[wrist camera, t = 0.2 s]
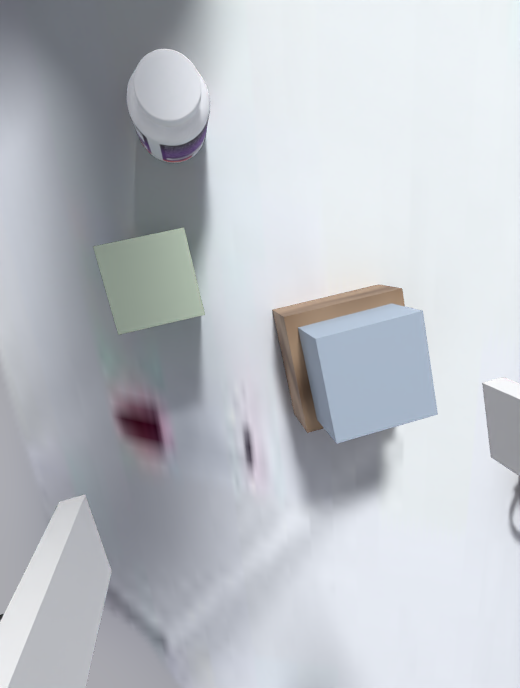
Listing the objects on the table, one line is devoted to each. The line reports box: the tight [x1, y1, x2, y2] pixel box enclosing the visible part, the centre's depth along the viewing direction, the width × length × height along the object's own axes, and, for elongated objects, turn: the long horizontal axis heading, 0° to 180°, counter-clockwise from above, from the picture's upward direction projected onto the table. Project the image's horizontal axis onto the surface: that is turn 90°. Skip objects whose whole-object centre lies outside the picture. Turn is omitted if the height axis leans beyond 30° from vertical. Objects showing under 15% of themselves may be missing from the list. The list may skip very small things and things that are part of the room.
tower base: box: [273, 285, 405, 433], centre depth 40 cm, size 10×10×5 cm
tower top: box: [298, 303, 438, 444], centre depth 36 cm, size 8×8×5 cm
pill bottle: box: [126, 49, 210, 163], centre depth 32 cm, size 5×5×10 cm
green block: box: [93, 227, 205, 335], centre depth 35 cm, size 6×6×8 cm
